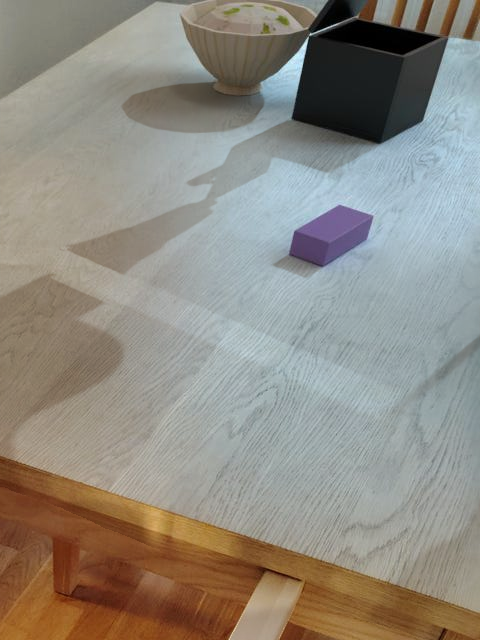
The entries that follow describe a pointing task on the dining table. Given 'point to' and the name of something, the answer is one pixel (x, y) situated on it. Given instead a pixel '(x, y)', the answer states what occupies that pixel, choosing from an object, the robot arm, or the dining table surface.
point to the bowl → (245, 39)
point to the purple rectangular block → (330, 235)
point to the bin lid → (336, 13)
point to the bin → (368, 78)
